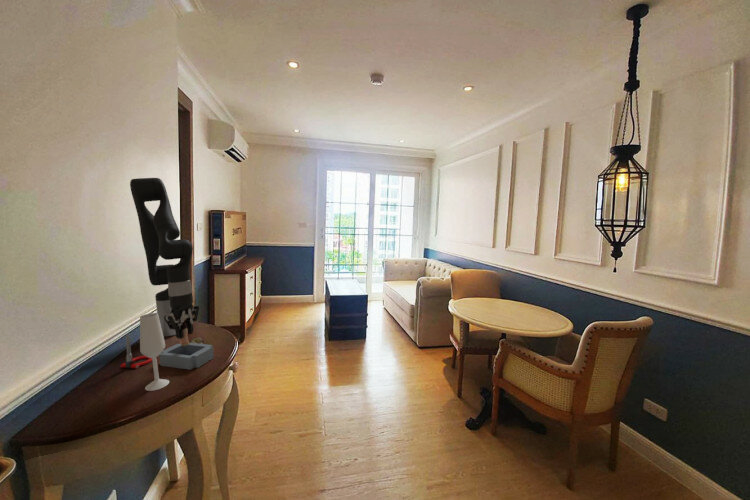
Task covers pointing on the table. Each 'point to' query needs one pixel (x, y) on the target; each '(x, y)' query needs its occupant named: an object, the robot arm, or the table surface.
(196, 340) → the mineral rock
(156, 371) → the champagne flute
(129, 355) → the tow hook
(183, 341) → the grandmother figurine
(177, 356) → the well block
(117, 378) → the table surface
